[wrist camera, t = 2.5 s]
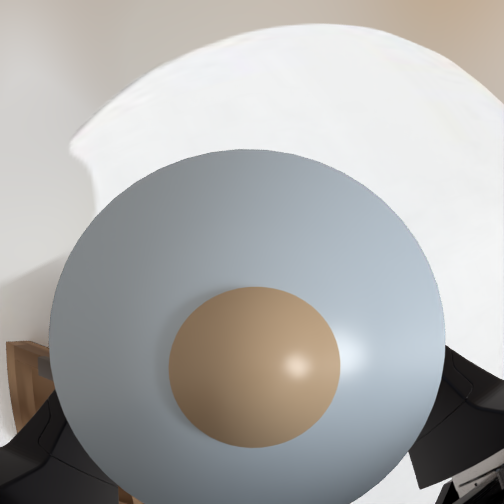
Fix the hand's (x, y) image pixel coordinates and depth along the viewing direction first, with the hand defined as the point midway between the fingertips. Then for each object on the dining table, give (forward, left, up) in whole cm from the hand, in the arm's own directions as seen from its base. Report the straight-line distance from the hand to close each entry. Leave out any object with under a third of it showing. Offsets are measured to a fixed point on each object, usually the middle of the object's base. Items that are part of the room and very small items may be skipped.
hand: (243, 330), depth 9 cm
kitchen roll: (0, 0, -8) cm, 8 cm away
